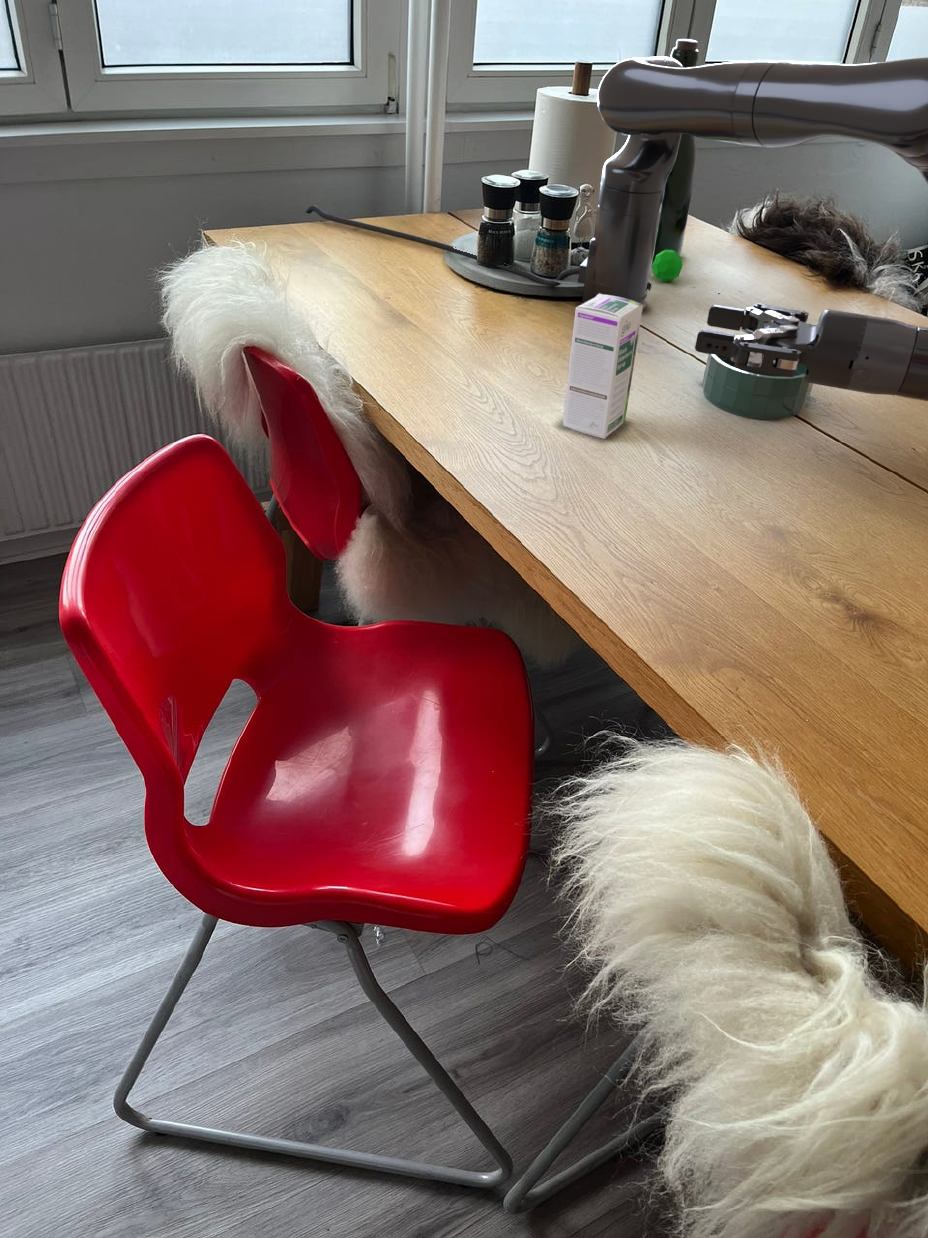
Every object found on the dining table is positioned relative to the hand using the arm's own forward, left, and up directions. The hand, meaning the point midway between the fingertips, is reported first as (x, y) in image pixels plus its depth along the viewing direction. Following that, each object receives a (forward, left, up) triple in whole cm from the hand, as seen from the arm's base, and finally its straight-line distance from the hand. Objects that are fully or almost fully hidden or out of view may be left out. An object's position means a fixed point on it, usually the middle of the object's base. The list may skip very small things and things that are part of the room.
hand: (702, 326), depth 101 cm
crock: (+7, +17, -14) cm, 23 cm away
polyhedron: (-12, +59, -14) cm, 62 cm away
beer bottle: (-17, +73, -14) cm, 76 cm away
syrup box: (-10, 0, -14) cm, 17 cm away
